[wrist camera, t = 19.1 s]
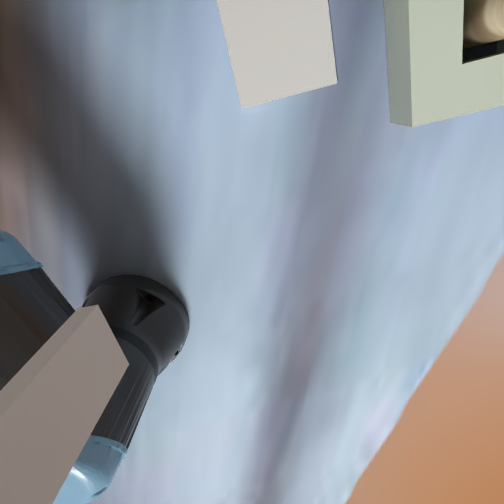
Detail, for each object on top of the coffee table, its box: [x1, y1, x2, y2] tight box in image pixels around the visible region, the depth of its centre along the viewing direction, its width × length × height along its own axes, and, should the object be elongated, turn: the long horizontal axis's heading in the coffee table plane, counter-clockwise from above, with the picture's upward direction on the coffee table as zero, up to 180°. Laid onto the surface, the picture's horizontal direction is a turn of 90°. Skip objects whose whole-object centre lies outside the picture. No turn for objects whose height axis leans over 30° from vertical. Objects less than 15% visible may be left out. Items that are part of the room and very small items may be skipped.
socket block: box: [384, 0, 504, 127], centre depth 27 cm, size 14×14×6 cm
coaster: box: [217, 0, 337, 109], centre depth 31 cm, size 10×10×1 cm
